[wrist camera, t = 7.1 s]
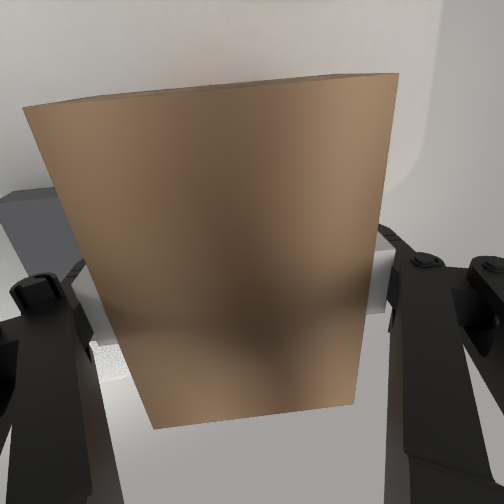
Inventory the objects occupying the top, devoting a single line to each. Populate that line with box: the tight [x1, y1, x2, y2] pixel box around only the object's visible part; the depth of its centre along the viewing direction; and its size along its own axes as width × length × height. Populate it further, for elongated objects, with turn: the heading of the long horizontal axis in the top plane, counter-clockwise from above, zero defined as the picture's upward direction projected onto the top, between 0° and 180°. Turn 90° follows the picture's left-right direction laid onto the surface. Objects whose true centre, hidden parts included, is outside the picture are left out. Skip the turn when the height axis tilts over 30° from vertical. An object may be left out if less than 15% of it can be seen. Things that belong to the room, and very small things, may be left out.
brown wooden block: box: [22, 73, 399, 429], centre depth 13 cm, size 9×13×5 cm
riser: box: [0, 187, 96, 341], centre depth 29 cm, size 7×15×3 cm, turn 4°
